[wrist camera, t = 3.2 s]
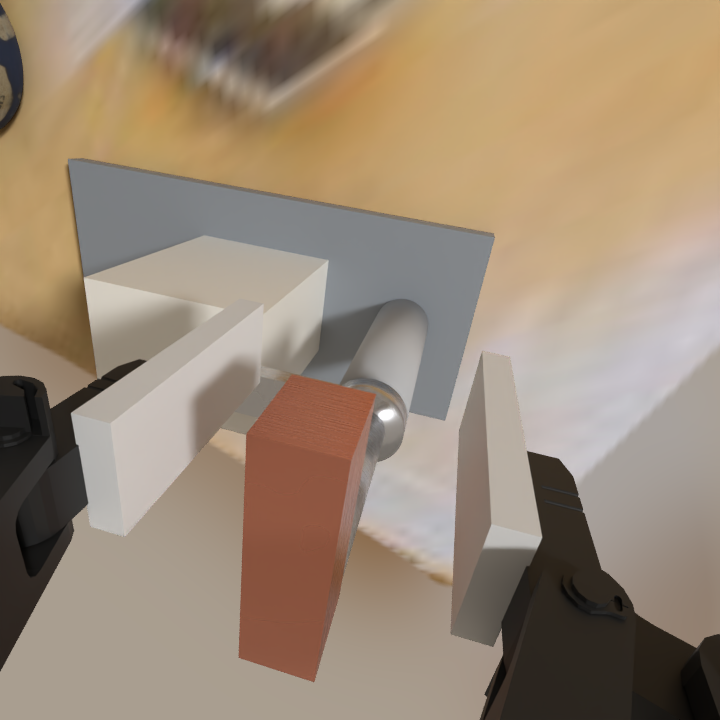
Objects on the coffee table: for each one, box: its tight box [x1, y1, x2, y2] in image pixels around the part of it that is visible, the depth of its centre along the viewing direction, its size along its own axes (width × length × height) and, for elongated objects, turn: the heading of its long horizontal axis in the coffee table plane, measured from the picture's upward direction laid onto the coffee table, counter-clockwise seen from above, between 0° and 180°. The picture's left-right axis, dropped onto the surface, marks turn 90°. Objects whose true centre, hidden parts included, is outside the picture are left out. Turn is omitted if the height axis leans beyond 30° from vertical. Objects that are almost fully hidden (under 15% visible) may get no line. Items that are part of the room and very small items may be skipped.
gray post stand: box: [68, 158, 495, 420], centre depth 25 cm, size 26×12×11 cm, turn 82°
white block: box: [84, 235, 329, 434], centre depth 25 cm, size 8×6×10 cm
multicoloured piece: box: [235, 366, 407, 682], centre depth 14 cm, size 9×7×10 cm
